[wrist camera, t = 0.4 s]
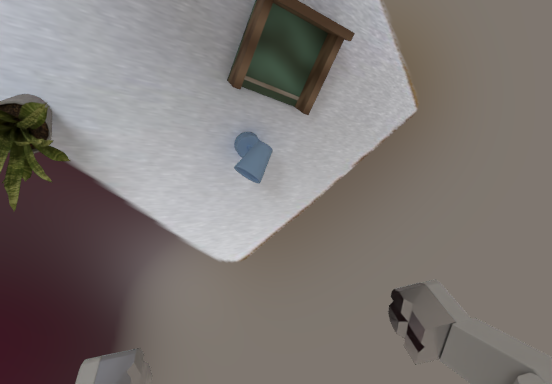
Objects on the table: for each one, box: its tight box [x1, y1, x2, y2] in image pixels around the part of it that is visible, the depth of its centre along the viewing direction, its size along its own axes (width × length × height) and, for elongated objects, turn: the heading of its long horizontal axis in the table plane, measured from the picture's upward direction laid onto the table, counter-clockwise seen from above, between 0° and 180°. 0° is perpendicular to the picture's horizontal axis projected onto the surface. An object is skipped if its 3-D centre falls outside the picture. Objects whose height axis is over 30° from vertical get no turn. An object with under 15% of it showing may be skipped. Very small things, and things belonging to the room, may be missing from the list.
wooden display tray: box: [227, 0, 355, 115], centre depth 51 cm, size 14×14×6 cm
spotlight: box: [234, 132, 273, 183], centre depth 55 cm, size 5×10×7 cm
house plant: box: [0, 94, 70, 211], centre depth 39 cm, size 14×14×16 cm
